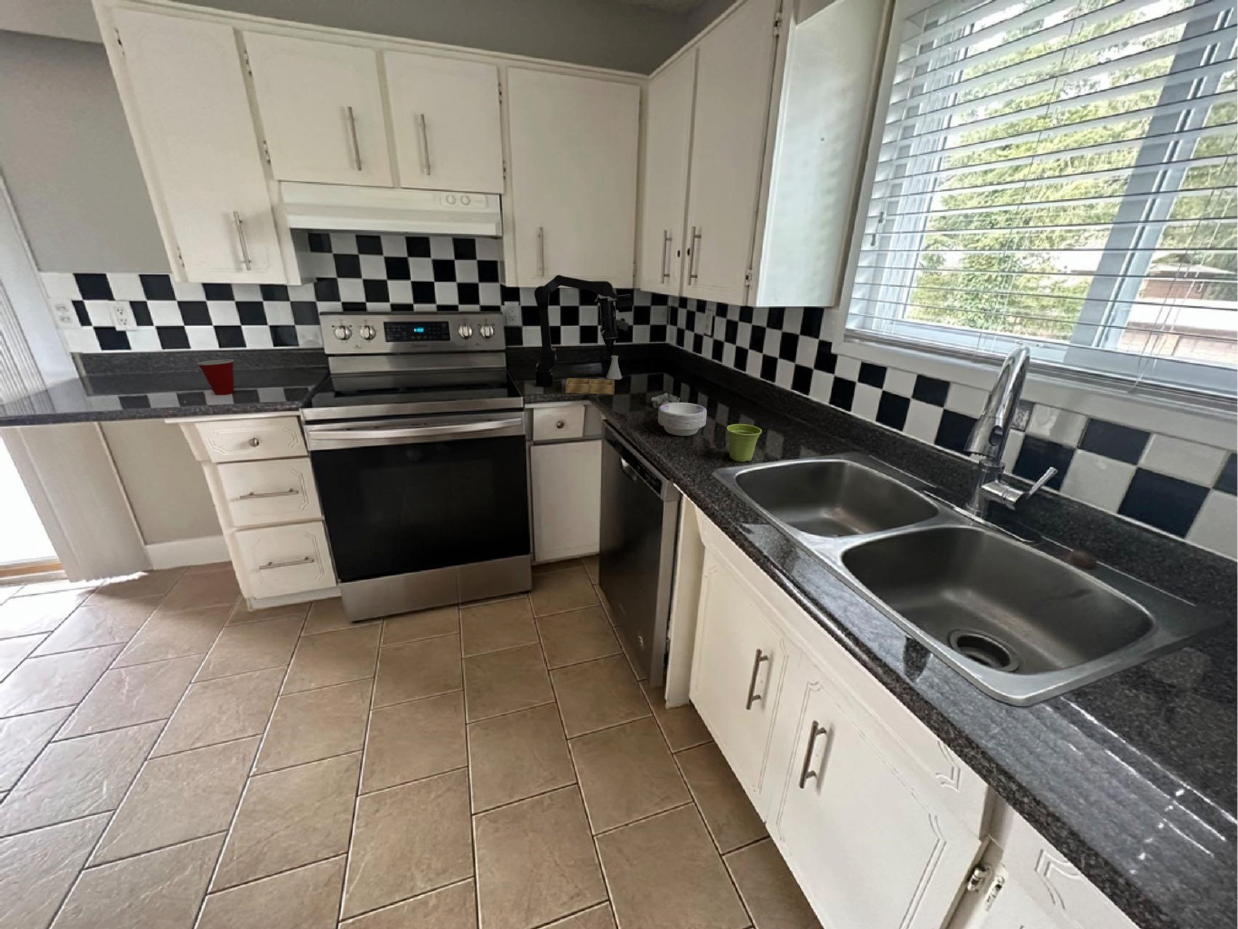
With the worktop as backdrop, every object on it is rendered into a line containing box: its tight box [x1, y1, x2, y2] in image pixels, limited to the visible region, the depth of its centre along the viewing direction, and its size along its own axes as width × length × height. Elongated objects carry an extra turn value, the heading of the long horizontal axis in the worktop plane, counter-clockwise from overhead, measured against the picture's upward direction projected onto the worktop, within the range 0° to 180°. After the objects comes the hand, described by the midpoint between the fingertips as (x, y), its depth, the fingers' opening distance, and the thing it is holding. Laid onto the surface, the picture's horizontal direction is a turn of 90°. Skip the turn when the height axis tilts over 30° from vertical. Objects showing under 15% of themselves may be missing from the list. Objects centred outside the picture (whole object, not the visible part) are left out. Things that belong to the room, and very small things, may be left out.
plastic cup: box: [196, 358, 235, 396], centre depth 182 cm, size 11×11×12 cm
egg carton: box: [651, 392, 681, 409], centre depth 188 cm, size 11×8×4 cm
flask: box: [606, 355, 623, 380], centre depth 227 cm, size 7×7×10 cm
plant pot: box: [726, 423, 763, 463], centre depth 139 cm, size 9×9×9 cm
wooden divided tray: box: [564, 377, 615, 395], centre depth 206 cm, size 20×10×4 cm, turn 91°
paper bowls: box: [657, 402, 708, 437], centre depth 159 cm, size 15×15×8 cm
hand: (610, 352), depth 209 cm, fingers open, 9 cm apart
